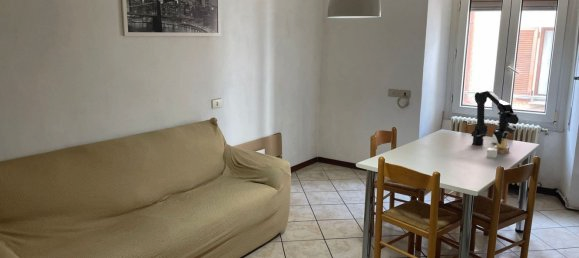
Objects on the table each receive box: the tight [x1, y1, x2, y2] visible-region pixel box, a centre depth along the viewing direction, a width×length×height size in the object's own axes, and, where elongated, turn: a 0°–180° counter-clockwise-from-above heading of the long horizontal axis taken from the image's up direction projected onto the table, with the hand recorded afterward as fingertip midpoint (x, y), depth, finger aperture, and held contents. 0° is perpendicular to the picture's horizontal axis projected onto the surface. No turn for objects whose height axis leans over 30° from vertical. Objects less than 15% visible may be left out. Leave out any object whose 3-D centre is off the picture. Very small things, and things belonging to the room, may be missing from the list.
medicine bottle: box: [491, 127, 508, 145], centre depth 350 cm, size 7×7×12 cm
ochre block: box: [496, 138, 508, 148], centre depth 324 cm, size 5×5×6 cm
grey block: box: [486, 147, 498, 159], centre depth 313 cm, size 6×6×5 cm
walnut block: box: [492, 144, 510, 155], centre depth 325 cm, size 9×9×4 cm
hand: (501, 143), depth 324 cm, fingers open, 6 cm apart
